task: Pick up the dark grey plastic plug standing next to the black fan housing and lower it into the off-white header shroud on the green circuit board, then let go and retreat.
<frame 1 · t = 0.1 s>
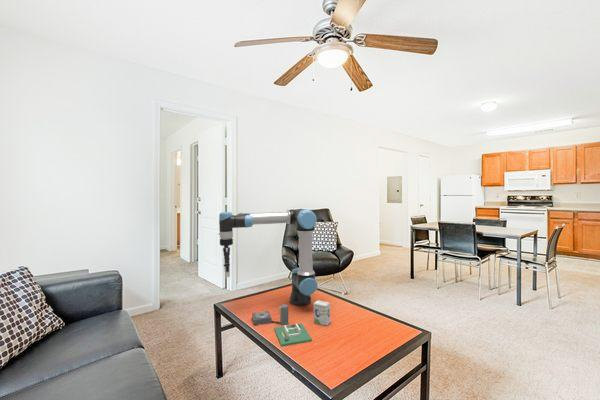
hand: (227, 273, 165), 28 cm above the table, fingers open, 13 cm apart
board: (292, 334, 148), on the table
plug: (284, 323, 161), on the table
ink box: (322, 323, 161), on the table
fan: (261, 320, 165), on the table
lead: (275, 322, 162), on the table
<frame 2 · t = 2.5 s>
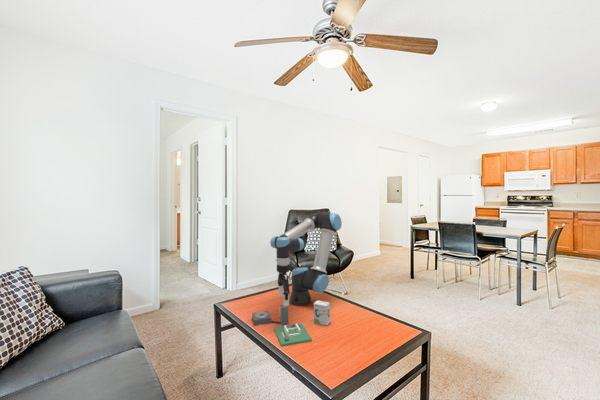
hand: (283, 300, 161), 13 cm above the table, fingers open, 13 cm apart
nothing on the table moved.
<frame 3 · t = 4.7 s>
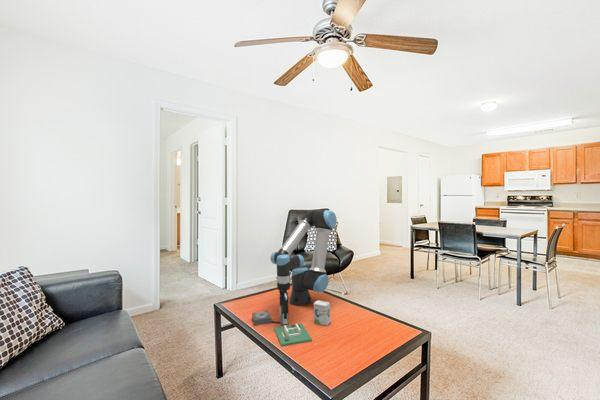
hand: (284, 321, 161), 1 cm above the table, fingers closed on plug, 4 cm apart
plug: (284, 323, 161), on the table, touching gripper
everything else where it was.
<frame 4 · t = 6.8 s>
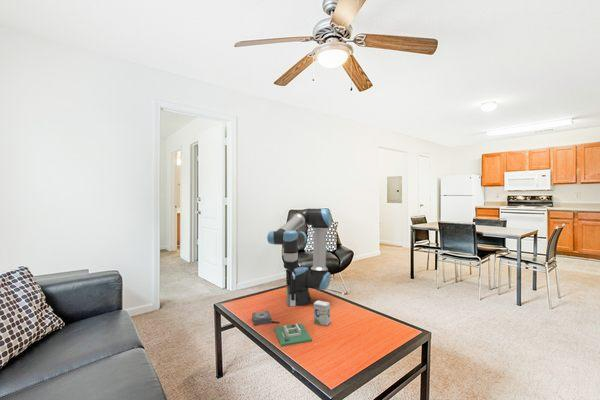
hand: (291, 304, 147), 17 cm above the table, fingers closed on plug, 4 cm apart
plug: (291, 305, 147), point 16 cm above the table, touching gripper
everything else where it was.
when the fingers open (3 cm above the table, at t = 9.2 s): plug drops 1 cm, resting on board.
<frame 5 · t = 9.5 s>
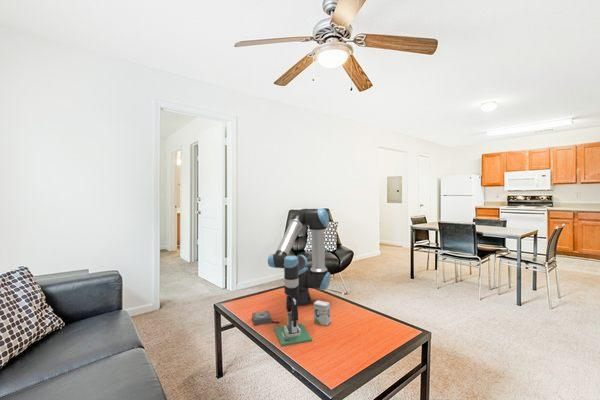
hand: (292, 327, 148), 4 cm above the table, fingers open, 9 cm apart
plug: (292, 333, 148), point 1 cm above the table, touching board
everything else where it was.
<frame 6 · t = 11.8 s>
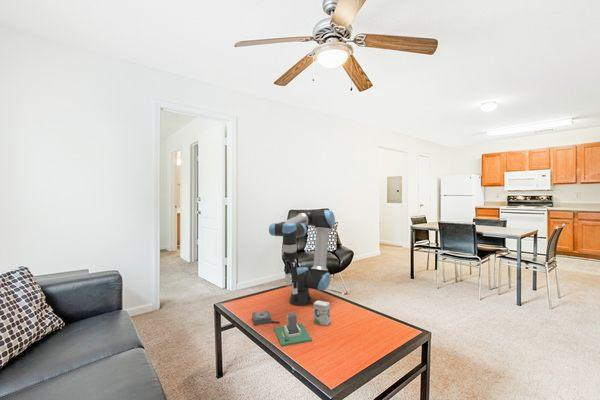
hand: (291, 289, 153), 22 cm above the table, fingers open, 13 cm apart
nothing on the table moved.
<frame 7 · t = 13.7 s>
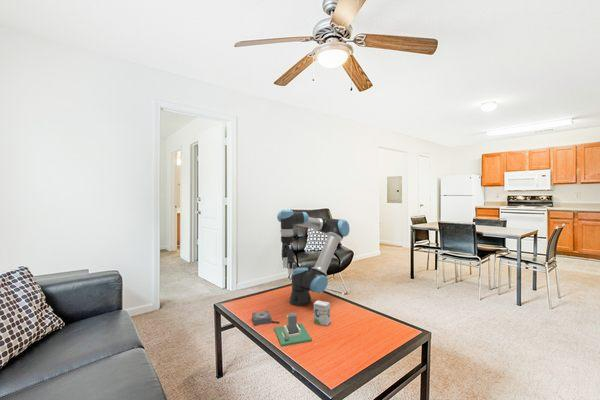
hand: (287, 270, 167), 29 cm above the table, fingers open, 13 cm apart
nothing on the table moved.
at the end: plug 0.1 cm off-centre on the board, point 1.0 cm above the board's base; plug tilted 0°; the gripper is holding nothing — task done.
